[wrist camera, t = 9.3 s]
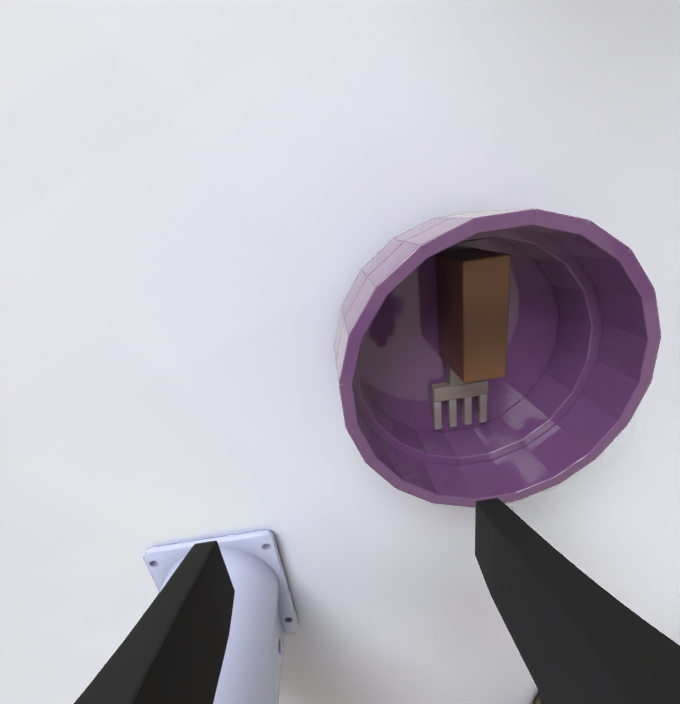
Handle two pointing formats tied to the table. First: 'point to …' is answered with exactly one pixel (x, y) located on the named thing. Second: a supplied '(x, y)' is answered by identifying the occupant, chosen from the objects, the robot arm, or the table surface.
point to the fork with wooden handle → (470, 329)
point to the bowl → (521, 364)
